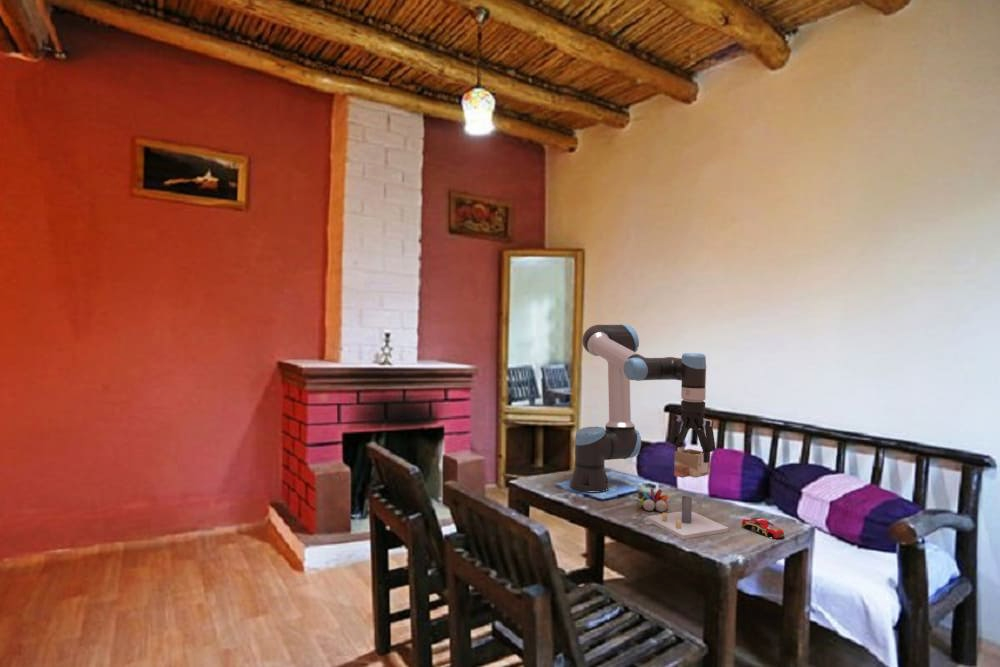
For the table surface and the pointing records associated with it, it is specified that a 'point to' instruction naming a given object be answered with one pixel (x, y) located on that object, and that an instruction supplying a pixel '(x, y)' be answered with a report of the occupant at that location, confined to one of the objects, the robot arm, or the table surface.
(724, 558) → the table surface
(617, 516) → the table surface
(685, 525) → the post board
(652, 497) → the rainbow spiky toy
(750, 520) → the race car
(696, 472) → the flange collar
